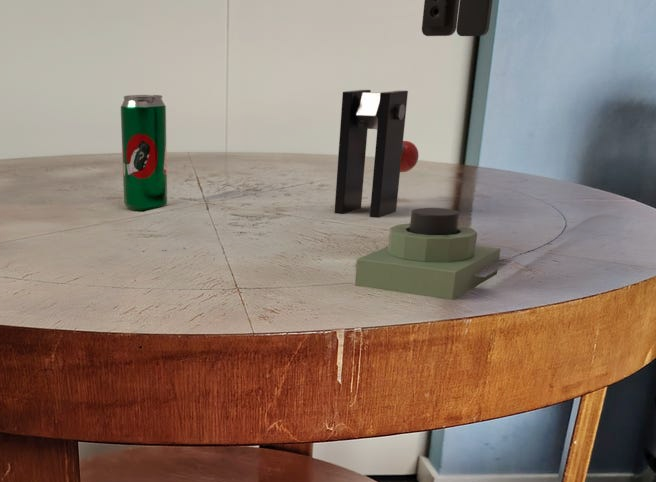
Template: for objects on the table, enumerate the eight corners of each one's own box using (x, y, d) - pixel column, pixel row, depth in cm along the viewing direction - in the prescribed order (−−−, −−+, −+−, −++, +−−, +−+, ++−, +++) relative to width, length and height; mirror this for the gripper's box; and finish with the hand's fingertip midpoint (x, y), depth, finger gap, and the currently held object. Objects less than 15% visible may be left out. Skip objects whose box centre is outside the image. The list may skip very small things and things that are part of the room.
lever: (389, 176, 100) (398, 148, 100) (416, 178, 99) (425, 150, 99) (349, 119, 89) (359, 87, 89) (379, 120, 88) (389, 88, 88)
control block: (496, 275, 74) (504, 225, 72) (452, 301, 67) (459, 246, 65) (405, 263, 78) (410, 216, 76) (354, 286, 71) (358, 235, 69)
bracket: (336, 213, 101) (345, 88, 95) (430, 223, 95) (446, 90, 89) (297, 226, 94) (304, 92, 88) (395, 237, 89) (409, 94, 83)
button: (463, 233, 71) (466, 210, 70) (446, 240, 69) (449, 217, 68) (419, 228, 73) (422, 206, 72) (401, 235, 70) (404, 212, 70)
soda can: (175, 208, 105) (173, 95, 99) (136, 212, 102) (133, 97, 97) (154, 203, 109) (152, 94, 103) (116, 206, 106) (112, 95, 101)
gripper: (514, -307, 50) (471, 35, 57) (583, -249, 60) (538, 35, 68) (388, -280, 54) (363, 37, 61) (472, -230, 64) (442, 36, 72)
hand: (455, 35), depth 64 cm, fingers open, 6 cm apart
